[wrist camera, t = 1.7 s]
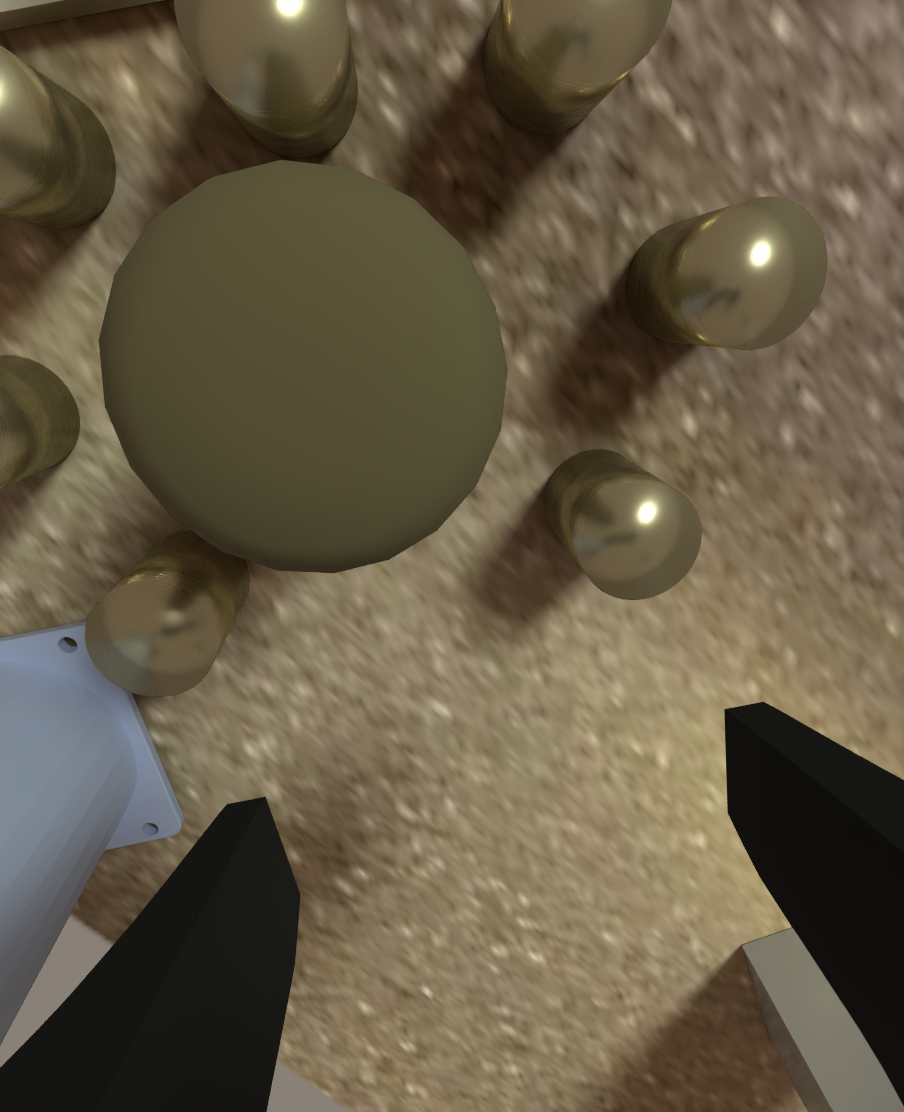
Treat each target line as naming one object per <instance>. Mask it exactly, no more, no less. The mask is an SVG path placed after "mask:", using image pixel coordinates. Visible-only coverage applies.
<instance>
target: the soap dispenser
mask: <svg viewBox="0 0 904 1112" xmlns="http://www.w3.org/2000/svg"><path fill="white" fill-rule="evenodd" d="M742 948H743V951H744V955H745V958H746V961H747V965H748V968H749V971H750V974H751V978H752V981H753V984H754V988H755V991H756V994H757V997H758V1001H759V1004H760V1007H761V1011H762V1014H763V1017H764V1020H765V1024H766V1027H767V1030H768V1034H769V1037H770V1040H771V1042H772V1044H773V1046H774V1048H775V1050H776V1052H777V1054H778V1056H779V1058H780V1060H781V1062H782V1064H783V1066H784V1068H785V1069H786V1071H787V1073H788V1075H789V1077H790V1079H791V1081H792V1083H793V1085H794V1087H795V1089H796V1091H797V1093H798V1095H799V1096H800V1098H801V1100H802V1102H803V1104H804V1106H805V1108H806V1110H807V1112H904V1106H903V1104H902V1102H901V1101H900V1099H899V1097H898V1095H897V1093H896V1091H895V1090H894V1088H893V1086H892V1084H891V1082H890V1080H889V1079H888V1077H887V1075H886V1073H885V1071H884V1069H883V1068H882V1066H881V1064H880V1063H879V1061H878V1059H877V1058H876V1056H875V1054H874V1053H873V1051H872V1049H871V1048H870V1046H869V1045H868V1043H867V1041H866V1040H865V1038H864V1036H863V1035H862V1033H861V1031H860V1030H859V1028H858V1027H857V1025H856V1024H855V1022H854V1021H853V1019H852V1017H851V1016H850V1014H849V1013H848V1011H847V1010H846V1008H845V1007H844V1005H843V1004H842V1002H841V1001H840V999H839V998H838V996H837V995H836V993H835V992H834V990H833V989H832V987H831V985H830V984H829V982H828V981H827V979H826V978H825V976H824V975H823V973H822V972H821V970H820V969H819V967H818V966H817V964H816V963H815V961H814V960H813V958H812V957H811V955H810V953H809V952H808V950H807V949H806V947H805V946H804V944H803V943H802V941H801V940H800V938H799V937H798V935H797V934H796V932H795V931H794V929H793V928H790V929H787V930H784V931H781V932H778V933H776V934H773V935H770V936H767V937H764V938H761V939H758V940H756V941H753V942H750V943H747V944H744V945H742Z"/></svg>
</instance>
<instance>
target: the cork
mask: <svg viewBox="0 0 904 1112" xmlns="http://www.w3.org/2000/svg"><path fill="white" fill-rule="evenodd" d="M99 347H100V358H101V369H102V380H103V390H104V401H105V408H106V410H107V412H108V415H109V417H110V419H111V422H112V424H113V427H114V429H115V431H116V434H117V436H118V439H119V441H120V443H121V446H122V448H123V451H124V453H125V455H126V458H127V460H128V462H129V465H130V467H131V468H132V469H133V471H134V472H135V473H136V474H137V475H138V477H139V478H140V479H141V480H142V482H143V483H144V484H145V485H146V487H147V488H148V489H149V490H150V491H151V493H152V494H153V495H154V496H155V498H156V499H157V500H158V501H159V502H160V504H161V505H162V506H163V507H164V509H165V510H166V511H167V512H168V513H169V515H170V516H171V517H173V518H174V519H176V520H177V521H178V522H180V523H181V524H183V525H184V526H186V527H187V528H189V529H190V530H191V531H193V532H194V533H196V534H197V535H199V536H200V537H201V538H203V539H204V540H206V541H207V542H209V543H210V544H212V545H213V546H214V547H216V548H217V549H219V550H220V551H222V552H225V553H228V554H231V555H234V556H237V557H240V558H243V559H246V560H248V561H251V562H254V563H257V564H260V565H263V566H266V567H269V568H272V569H275V570H281V571H302V572H322V573H337V572H341V571H345V570H349V569H353V568H357V567H361V566H365V565H369V564H373V563H377V562H381V561H385V560H389V559H391V558H392V557H394V556H396V555H397V554H399V553H401V552H402V551H404V550H406V549H407V548H409V547H411V546H412V545H414V544H416V543H417V542H419V541H421V540H422V539H424V538H425V537H427V536H429V535H430V534H432V533H434V532H435V531H437V530H438V529H439V528H440V526H441V525H442V524H443V523H444V522H445V521H446V520H447V518H448V517H449V516H450V515H451V514H452V513H453V512H454V510H455V509H456V508H457V507H458V506H459V505H460V504H461V503H462V501H463V500H464V499H465V498H466V497H467V496H468V495H469V493H470V492H471V491H472V490H473V489H474V488H475V486H476V485H477V483H478V481H479V478H480V476H481V474H482V472H483V469H484V467H485V465H486V462H487V460H488V458H489V456H490V453H491V451H492V449H493V447H494V444H495V442H496V440H497V438H498V435H499V433H500V431H501V424H502V415H503V405H504V396H505V387H506V378H507V364H506V359H505V354H504V349H503V344H502V338H501V333H500V328H499V323H498V318H497V313H496V307H495V305H494V303H493V301H492V299H491V297H490V296H489V294H488V292H487V290H486V288H485V286H484V284H483V282H482V281H481V279H480V277H479V275H478V273H477V271H476V269H475V268H474V266H473V264H472V262H471V260H470V258H469V256H468V254H467V253H466V251H465V249H464V247H463V246H462V245H461V244H460V243H459V242H458V241H457V240H456V239H455V238H454V237H453V236H452V235H451V234H450V233H449V232H448V231H447V230H446V229H444V228H443V227H442V226H441V225H440V224H439V223H438V222H437V221H436V220H435V219H434V218H433V217H432V216H431V215H430V214H429V213H428V212H427V211H426V210H425V209H424V208H423V207H422V206H421V205H420V204H419V203H418V202H417V201H416V200H415V199H414V198H412V197H410V196H408V195H405V194H403V193H401V192H399V191H397V190H395V189H393V188H391V187H389V186H387V185H385V184H383V183H381V182H379V181H377V180H375V179H373V178H370V177H368V176H366V175H364V174H362V173H360V172H358V171H356V170H354V169H352V168H348V167H340V166H331V165H322V164H313V163H305V162H296V161H287V160H278V161H274V162H270V163H266V164H262V165H258V166H254V167H250V168H246V169H242V170H238V171H234V172H230V173H226V174H222V175H218V176H214V177H212V178H210V179H208V180H206V181H205V182H203V183H202V184H200V185H199V186H198V187H196V188H195V189H193V190H192V191H191V192H189V193H188V194H186V195H185V196H183V197H182V198H181V199H179V200H178V201H176V202H175V203H174V204H172V205H171V206H169V207H168V208H166V209H165V210H164V211H162V212H161V213H159V214H158V215H157V216H155V217H154V218H152V219H151V221H150V222H149V224H148V225H147V227H146V228H145V230H144V231H143V233H142V234H141V236H140V237H139V239H138V240H137V242H136V243H135V245H134V246H133V248H132V249H131V251H130V252H129V254H128V255H127V257H126V258H125V260H124V261H123V263H122V264H121V266H120V267H119V269H118V270H117V272H116V273H115V275H114V279H113V283H112V287H111V292H110V296H109V300H108V304H107V308H106V312H105V317H104V321H103V325H102V329H101V333H100V337H99Z"/></svg>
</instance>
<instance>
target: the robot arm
mask: <svg viewBox="0 0 904 1112" xmlns="http://www.w3.org/2000/svg"><path fill="white" fill-rule="evenodd" d="M86 622H87V621H83V622H78V623H73V624H68V625H63V626H58V627H53V628H48V629H43V630H38V631H33V632H28V633H23V634H18V635H13V636H9V637H4V638H0V1045H1V1043H2V1041H3V1039H4V1037H5V1035H6V1034H7V1031H8V1030H9V1028H10V1026H11V1024H12V1022H13V1020H14V1019H15V1017H16V1015H17V1013H18V1011H19V1009H20V1007H21V1005H22V1004H23V1002H24V1000H25V998H26V996H27V994H28V992H29V991H30V989H31V987H32V985H33V983H34V981H35V979H36V977H37V976H38V974H39V972H40V970H41V968H42V966H43V964H44V963H45V961H46V959H47V957H48V955H49V953H50V951H51V949H52V948H53V946H54V944H55V942H56V940H57V938H58V936H59V935H60V932H61V931H62V929H63V927H64V925H65V923H66V922H67V920H68V918H69V916H70V914H71V912H72V910H73V908H74V907H75V905H76V903H77V901H78V899H79V897H80V895H81V893H82V892H83V890H84V888H85V886H86V884H87V882H88V880H89V879H90V877H91V875H92V873H93V871H94V869H95V867H96V865H97V864H98V862H99V860H100V858H101V856H102V854H103V852H104V851H105V850H109V849H114V848H119V847H124V846H128V845H133V844H138V843H143V842H148V841H152V840H157V839H162V838H167V837H171V836H174V835H176V834H177V833H178V832H179V831H180V829H181V827H182V824H183V822H184V817H183V814H182V811H181V809H180V807H179V804H178V802H177V799H176V797H175V795H174V792H173V790H172V788H171V785H170V783H169V780H168V778H167V776H166V773H165V771H164V769H163V766H162V764H161V761H160V759H159V757H158V754H157V752H156V750H155V747H154V745H153V742H152V740H151V738H150V735H149V733H148V731H147V728H146V726H145V723H144V721H143V719H142V716H141V714H140V711H139V709H138V707H137V704H136V702H135V700H134V697H133V695H132V693H131V692H129V691H126V690H124V689H122V688H120V687H118V686H117V685H115V684H113V683H112V682H111V681H109V680H108V679H107V678H106V677H105V676H103V675H102V674H101V672H100V671H99V670H98V669H97V668H96V666H95V665H94V663H93V662H92V660H91V658H90V656H89V654H88V651H87V648H86V643H85V626H86ZM65 637H70V638H72V639H74V640H75V642H76V643H77V647H72V646H70V645H68V644H67V643H66V641H65ZM724 710H725V741H726V773H727V804H728V814H729V816H730V818H731V820H732V823H733V825H734V827H735V829H736V831H737V833H738V835H739V837H740V839H741V841H742V843H743V845H744V847H745V849H746V851H747V853H748V855H749V857H750V859H751V861H752V863H753V865H754V867H755V869H756V871H757V872H758V874H759V876H760V878H761V879H762V881H763V883H764V884H765V886H766V887H767V889H768V890H769V892H770V894H771V895H772V897H773V898H774V900H775V901H776V903H777V904H778V906H779V907H780V909H781V911H782V912H783V914H784V915H785V917H786V918H787V920H788V921H789V923H790V924H791V926H792V928H793V929H794V931H795V932H796V934H797V935H798V937H799V938H800V940H801V941H802V943H803V944H804V946H805V947H806V949H807V950H808V952H809V953H810V955H811V957H812V958H813V960H814V961H815V963H816V964H817V966H818V967H819V969H820V970H821V972H822V973H823V975H824V976H825V978H826V979H827V981H828V982H829V984H830V985H831V987H832V989H833V990H834V992H835V993H836V995H837V996H838V998H839V999H840V1001H841V1002H842V1004H843V1005H844V1007H845V1008H846V1010H847V1011H848V1013H849V1014H850V1016H851V1017H852V1019H853V1021H854V1022H855V1024H856V1025H857V1027H858V1028H859V1030H860V1031H861V1033H862V1035H863V1036H864V1038H865V1040H866V1041H867V1043H868V1045H869V1046H870V1048H871V1049H872V1051H873V1053H874V1054H875V1056H876V1058H877V1059H878V1061H879V1063H880V1064H881V1066H882V1068H883V1069H884V1071H885V1073H886V1075H887V1077H888V1079H889V1080H890V1082H891V1084H892V1086H893V1088H894V1090H895V1091H896V1093H897V1095H898V1097H899V1099H900V1101H901V1102H902V1104H903V1106H904V780H903V779H901V778H899V777H897V776H895V775H893V774H891V773H890V772H888V771H886V770H884V769H882V768H880V767H879V766H877V765H875V764H873V763H871V762H870V761H868V760H866V759H864V758H862V757H861V756H859V755H857V754H855V753H853V752H852V751H850V750H848V749H846V748H845V747H843V746H841V745H839V744H838V743H836V742H834V741H832V740H831V739H829V738H827V737H825V736H824V735H822V734H820V733H818V732H817V731H815V730H813V729H811V728H810V727H808V726H806V725H804V724H803V723H801V722H799V721H797V720H796V719H794V718H792V717H790V716H789V715H787V714H785V713H783V712H781V711H780V710H778V709H776V708H774V707H772V706H770V705H768V704H767V703H765V702H760V703H755V704H750V705H745V706H739V707H734V708H729V709H724ZM147 823H153V824H155V825H156V826H157V827H152V826H150V825H148V824H147ZM299 905H300V892H299V889H298V887H297V884H296V881H295V878H294V875H293V873H292V870H291V867H290V864H289V861H288V859H287V856H286V853H285V850H284V847H283V845H282V842H281V839H280V836H279V833H278V831H277V828H276V825H275V822H274V819H273V816H272V814H271V811H270V808H269V805H268V802H267V800H266V797H262V798H257V799H252V800H247V801H242V802H236V803H231V804H227V805H226V806H225V807H224V809H223V810H222V811H221V812H220V813H219V814H218V816H217V817H216V818H215V819H214V821H213V822H212V823H211V824H210V826H209V827H208V828H207V830H206V831H205V832H204V833H203V835H202V836H201V837H200V839H199V840H198V841H197V842H196V844H195V845H194V846H193V848H192V849H191V850H190V851H189V853H188V854H187V855H186V857H185V858H184V859H183V860H182V862H181V863H180V864H179V865H178V867H177V868H176V869H175V871H174V872H173V873H172V874H171V876H170V877H169V878H168V879H167V881H166V882H165V883H164V884H163V886H162V887H161V888H160V889H159V891H158V892H157V893H156V894H155V896H154V897H153V898H152V899H151V901H150V902H149V903H148V904H147V906H146V907H145V908H144V909H143V911H142V912H141V913H140V914H139V916H138V917H137V918H136V919H135V920H134V922H133V923H132V924H131V925H130V926H129V928H128V929H127V930H126V931H125V932H124V933H123V935H122V936H121V937H120V938H119V939H118V940H117V941H116V943H115V944H114V945H113V946H112V947H111V948H110V950H109V951H108V952H107V953H106V954H105V955H104V957H103V958H102V959H101V960H100V961H99V962H98V964H97V965H96V966H95V967H94V968H93V969H92V970H91V972H90V973H89V974H88V975H87V976H86V977H85V979H84V980H83V981H82V982H81V983H80V984H79V985H78V987H77V988H76V989H75V990H74V991H73V992H72V993H71V995H70V996H69V997H68V998H67V999H66V1000H65V1001H64V1002H63V1003H62V1004H61V1006H60V1007H59V1008H58V1009H57V1010H56V1011H55V1012H54V1013H53V1014H52V1015H51V1016H50V1017H49V1018H48V1019H47V1020H46V1021H45V1022H44V1024H43V1025H42V1026H41V1027H40V1028H39V1029H38V1030H37V1031H36V1032H35V1033H34V1034H33V1035H32V1036H31V1037H30V1038H29V1039H28V1040H27V1041H26V1042H25V1043H24V1044H23V1045H22V1046H21V1047H20V1048H19V1049H18V1050H17V1051H16V1052H15V1053H14V1055H12V1057H10V1058H9V1060H7V1061H6V1062H5V1064H4V1065H3V1066H2V1067H1V1068H0V1112H266V1111H267V1106H268V1101H269V1096H270V1091H271V1085H272V1080H273V1075H274V1070H275V1065H276V1060H277V1055H278V1050H279V1045H280V1040H281V1035H282V1030H283V1025H284V1019H285V1014H286V1009H287V1004H288V998H289V993H290V988H291V982H292V977H293V971H294V966H295V956H296V945H297V934H298V920H299Z"/></svg>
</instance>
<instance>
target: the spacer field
mask: <svg viewBox="0 0 904 1112" xmlns="http://www.w3.org/2000/svg"><path fill="white" fill-rule="evenodd" d="M671 4H672V0H500V1H499V4H498V7H497V10H496V13H495V16H494V19H493V22H492V25H491V27H490V30H489V33H488V37H487V41H486V45H485V52H484V72H485V79H486V84H487V87H488V90H489V93H490V96H491V98H492V100H493V102H494V104H495V105H496V107H497V109H498V110H499V111H500V113H501V114H502V115H503V116H504V117H505V118H506V119H507V120H508V121H509V122H510V123H511V124H512V125H514V126H515V127H517V128H519V129H520V130H522V131H525V132H527V133H530V134H535V135H554V134H558V133H562V132H564V131H566V130H569V129H570V128H572V127H574V126H575V125H577V124H578V123H579V122H580V121H582V120H583V119H584V118H585V117H586V116H587V115H588V114H589V113H590V112H591V111H592V110H593V109H594V108H595V107H596V106H597V105H598V104H599V103H600V102H601V101H602V100H603V99H604V98H605V96H606V95H607V94H608V93H609V92H610V91H611V90H612V89H613V88H614V87H615V86H616V85H617V84H618V83H619V82H620V81H621V80H622V79H623V78H624V77H625V76H626V75H627V74H628V73H629V72H630V71H631V70H632V69H633V68H634V67H635V66H636V65H637V64H638V63H639V62H640V61H641V60H642V59H643V58H644V57H645V56H646V55H647V54H648V52H649V51H650V50H651V48H652V47H653V46H654V44H655V43H656V41H657V39H658V38H659V36H660V34H661V32H662V30H663V28H664V26H665V23H666V21H667V18H668V15H669V12H670V8H671ZM174 5H175V15H176V19H177V24H178V29H179V32H180V35H181V38H182V41H183V43H184V45H185V48H186V50H187V52H188V54H189V56H190V58H191V59H192V61H193V63H194V64H195V66H196V67H197V69H198V70H199V71H200V73H201V74H202V75H203V77H204V78H205V79H206V80H207V82H208V83H209V84H210V85H211V87H212V88H213V89H214V90H215V92H216V93H217V94H218V95H219V97H220V98H221V99H222V100H223V102H224V103H225V104H226V105H227V107H228V108H229V109H230V110H231V112H232V113H233V114H234V115H235V117H236V118H237V119H238V120H239V121H240V123H241V124H242V125H243V126H244V128H245V129H246V130H247V131H248V133H249V134H250V135H251V136H252V137H253V138H254V139H255V140H256V141H257V142H258V143H260V144H261V145H262V146H264V147H265V148H267V149H268V150H270V151H272V152H274V153H276V154H278V155H281V156H284V157H289V158H298V159H303V158H311V157H314V156H318V155H320V154H322V153H325V152H326V151H328V150H329V149H331V148H332V147H334V146H335V145H336V144H337V143H338V142H339V141H340V140H341V139H342V137H343V136H344V135H345V133H346V132H347V130H348V129H349V127H350V125H351V122H352V120H353V117H354V114H355V111H356V106H357V98H358V82H357V75H356V69H355V62H354V55H353V49H352V42H351V36H350V29H349V23H348V16H347V10H346V3H345V0H174ZM115 178H116V163H115V156H114V152H113V148H112V145H111V142H110V140H109V137H108V135H107V133H106V131H105V129H104V127H103V126H102V124H101V122H100V121H99V119H98V118H97V117H96V116H95V114H94V113H93V112H92V111H91V110H90V109H89V108H88V107H87V106H86V105H85V104H84V103H83V102H82V101H81V100H79V99H78V98H77V97H75V96H74V95H73V94H71V93H70V92H68V91H67V90H65V89H64V88H62V87H61V86H59V85H58V84H56V83H55V82H53V81H52V80H50V79H49V78H48V77H46V76H45V75H43V74H42V73H40V72H39V71H37V70H36V69H34V68H33V67H31V66H30V65H28V64H27V63H25V62H24V61H23V60H21V59H20V58H18V57H17V56H15V55H14V54H12V53H11V52H9V51H8V50H6V49H5V48H3V47H2V46H0V215H3V216H7V217H11V218H15V219H19V220H23V221H27V222H31V223H35V224H39V225H43V226H47V227H53V228H73V227H77V226H81V225H83V224H86V223H88V222H90V221H91V220H93V219H94V218H95V217H97V216H98V215H99V214H100V213H101V212H102V211H103V209H104V208H105V207H106V205H107V204H108V202H109V200H110V198H111V195H112V193H113V189H114V185H115ZM826 273H827V249H826V243H825V240H824V236H823V233H822V231H821V229H820V227H819V225H818V224H817V222H816V220H815V219H814V218H813V216H812V215H811V214H810V213H809V212H808V211H807V210H806V209H804V208H803V207H802V206H800V205H799V204H797V203H795V202H793V201H791V200H788V199H785V198H780V197H768V196H767V197H759V198H755V199H751V200H747V201H744V202H741V203H738V204H735V205H731V206H728V207H725V208H722V209H719V210H716V211H712V212H709V213H706V214H703V215H700V216H696V217H693V218H690V219H687V220H684V221H681V222H677V223H674V224H671V225H669V226H666V227H664V228H662V229H661V230H659V231H657V232H656V233H655V234H653V235H652V236H651V237H650V238H649V239H648V240H647V241H646V242H645V243H644V244H643V245H642V247H641V248H640V249H639V251H638V253H637V254H636V256H635V258H634V260H633V262H632V265H631V268H630V271H629V275H628V281H627V297H628V303H629V307H630V310H631V312H632V315H633V317H634V318H635V320H636V322H637V323H638V324H639V326H640V327H641V328H642V329H643V330H644V331H645V332H646V333H648V334H649V335H651V336H653V337H655V338H657V339H659V340H662V341H667V342H675V343H684V344H693V345H703V346H712V347H721V348H731V349H740V350H754V349H761V348H764V347H768V346H771V345H773V344H776V343H778V342H779V341H781V340H783V339H785V338H786V337H788V336H789V335H790V334H792V333H793V332H794V331H795V330H796V329H797V328H799V327H800V326H801V325H802V323H803V322H804V321H805V320H806V319H807V318H808V316H809V315H810V313H811V312H812V311H813V309H814V307H815V305H816V303H817V302H818V299H819V297H820V295H821V293H822V289H823V286H824V283H825V278H826ZM79 430H80V417H79V412H78V408H77V405H76V402H75V400H74V398H73V396H72V394H71V392H70V391H69V389H68V388H67V386H66V385H65V384H64V382H63V381H62V380H61V379H60V378H59V377H58V376H57V375H56V374H54V373H53V372H52V371H51V370H49V369H48V368H46V367H45V366H43V365H41V364H39V363H37V362H35V361H33V360H30V359H28V358H24V357H20V356H13V355H1V356H0V489H2V488H4V487H7V486H9V485H11V484H13V483H15V482H18V481H20V480H22V479H24V478H26V477H29V476H31V475H33V474H35V473H38V472H40V471H42V470H44V469H46V468H49V467H51V466H53V465H55V464H57V463H59V462H60V461H62V460H63V459H64V458H66V457H67V456H68V455H69V453H70V452H71V451H72V449H73V448H74V446H75V444H76V442H77V439H78V436H79ZM544 508H545V513H546V517H547V520H548V522H549V524H550V526H551V527H552V529H553V530H554V531H555V533H556V534H557V535H558V537H559V538H560V539H561V541H562V542H563V544H564V545H565V546H566V548H567V549H568V550H569V552H570V553H571V554H572V556H573V557H574V558H575V560H576V561H577V563H578V564H579V565H580V567H581V568H582V569H583V571H584V572H585V573H586V575H587V576H588V577H589V579H590V580H591V582H592V583H593V584H594V585H595V586H596V587H597V588H599V589H600V590H601V591H603V592H605V593H606V594H608V595H611V596H613V597H616V598H620V599H626V600H640V599H646V598H650V597H654V596H656V595H659V594H661V593H663V592H665V591H667V590H669V589H670V588H671V587H673V586H674V585H676V584H677V583H678V582H679V581H680V580H681V579H682V578H683V577H684V576H685V575H686V574H687V572H688V571H689V570H690V568H691V567H692V565H693V563H694V562H695V560H696V557H697V555H698V552H699V549H700V544H701V534H702V530H701V523H700V519H699V516H698V513H697V511H696V509H695V507H694V506H693V504H692V503H691V502H690V500H689V499H688V498H687V497H686V496H685V495H683V494H682V493H681V492H679V491H678V490H676V489H675V488H673V487H671V486H670V485H668V484H667V483H665V482H663V481H662V480H660V479H659V478H657V477H655V476H654V475H652V474H651V473H649V472H647V471H646V470H644V469H643V468H641V467H639V466H638V465H636V464H635V463H633V462H631V461H630V460H628V459H627V458H625V457H623V456H622V455H620V454H618V453H616V452H613V451H609V450H603V449H594V450H587V451H584V452H581V453H578V454H576V455H574V456H572V457H570V458H569V459H567V460H566V461H565V462H563V463H562V464H561V465H560V466H559V467H558V468H557V470H556V471H555V472H554V474H553V475H552V477H551V478H550V481H549V483H548V485H547V488H546V492H545V498H544ZM249 583H250V580H249V573H248V569H247V567H246V564H245V562H244V560H243V558H240V557H237V556H234V555H231V554H228V553H225V552H222V551H220V550H219V549H217V548H216V547H214V546H213V545H212V544H210V543H209V542H207V541H206V540H204V539H203V538H201V537H200V536H199V535H197V534H196V533H194V532H193V531H184V532H179V533H175V534H173V535H170V536H168V537H166V538H164V539H163V540H161V541H160V542H159V543H158V544H157V545H156V546H155V547H154V548H153V549H152V550H151V551H150V552H149V553H148V554H147V555H146V556H144V557H143V558H142V559H141V560H140V561H139V562H138V563H137V564H136V565H135V566H134V567H133V568H132V569H131V570H130V571H129V572H128V573H127V574H126V575H125V576H124V577H123V578H122V579H121V580H120V581H119V582H118V583H117V584H116V585H115V586H114V587H113V588H112V589H111V590H110V591H109V592H108V593H107V594H106V595H105V596H104V597H103V598H102V599H101V600H100V601H99V602H98V603H97V604H96V605H95V606H94V608H93V609H92V611H91V612H90V614H89V617H88V619H87V622H86V626H85V643H86V648H87V651H88V654H89V656H90V658H91V660H92V662H93V663H94V665H95V666H96V668H97V669H98V670H99V671H100V672H101V674H102V675H103V676H105V677H106V678H107V679H108V680H109V681H111V682H112V683H113V684H115V685H117V686H118V687H120V688H122V689H124V690H126V691H129V692H131V693H135V694H138V695H143V696H150V697H165V696H172V695H176V694H179V693H182V692H184V691H187V690H189V689H190V688H192V687H194V686H195V685H197V684H198V683H199V682H200V681H201V680H202V679H203V678H204V677H205V676H206V675H207V673H208V672H209V670H210V668H211V666H212V664H213V663H214V661H215V659H216V657H217V655H218V653H219V651H220V649H221V647H222V645H223V643H224V641H225V639H226V637H227V635H228V633H229V631H230V629H231V627H232V625H233V623H234V621H235V620H236V618H237V616H238V614H239V612H240V610H241V608H242V606H243V604H244V602H245V600H246V598H247V595H248V591H249Z"/></svg>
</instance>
